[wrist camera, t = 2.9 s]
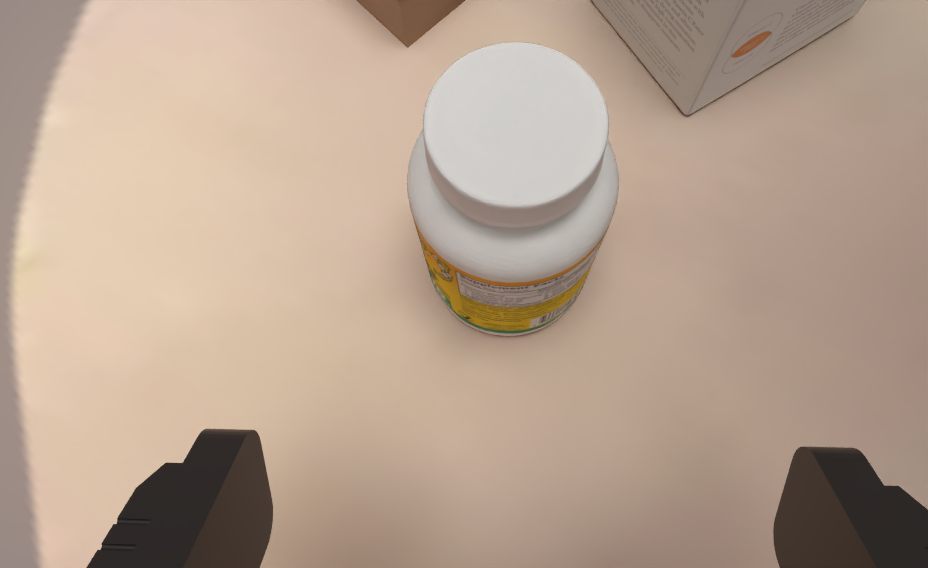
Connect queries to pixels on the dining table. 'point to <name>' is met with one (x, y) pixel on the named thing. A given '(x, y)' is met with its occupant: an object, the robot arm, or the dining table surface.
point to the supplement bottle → (512, 185)
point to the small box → (718, 39)
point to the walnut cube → (409, 15)
